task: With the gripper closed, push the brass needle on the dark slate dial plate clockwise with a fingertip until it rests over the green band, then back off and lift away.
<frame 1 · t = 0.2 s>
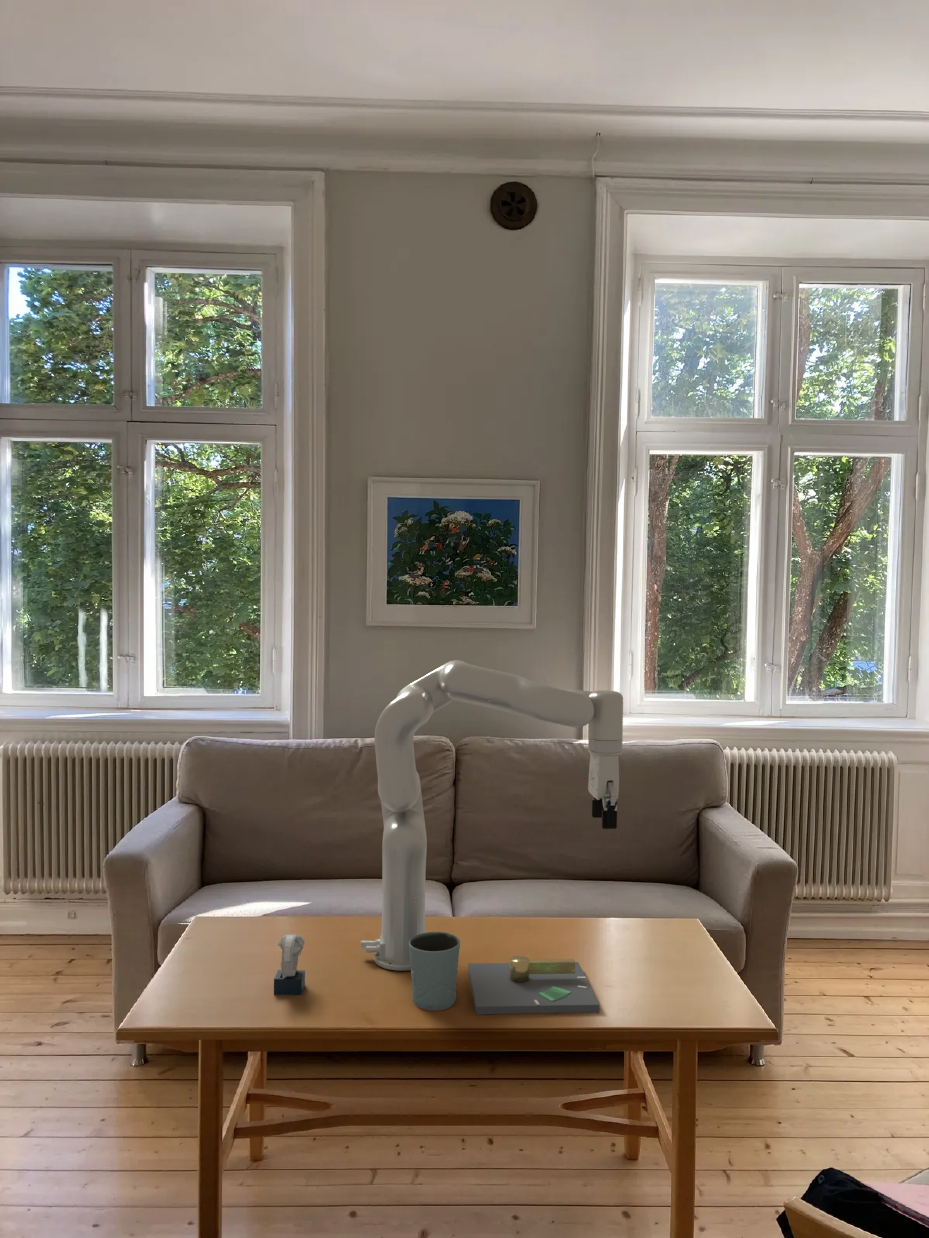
hand: (603, 822, 196), 30 cm above the table, tool pointing down, fingers open, 9 cm apart
needle: (542, 968, 182), point 4 cm above the table, hinge at 0.0°
teal cup: (433, 1001, 174), on the table
grey and black figurine: (289, 990, 178), on the table
dial plate: (519, 985, 182), on the table
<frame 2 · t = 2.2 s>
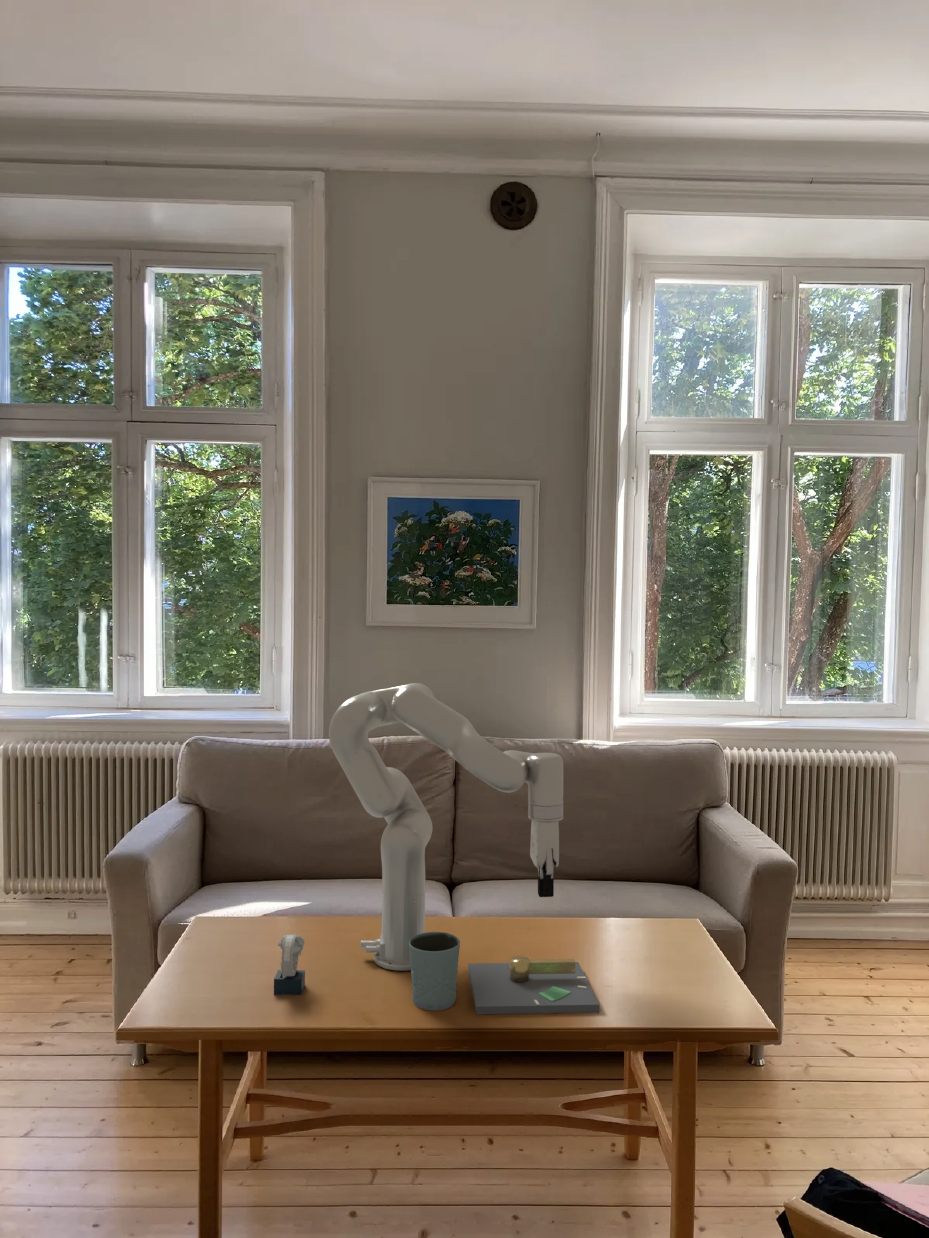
hand: (545, 895, 189), 16 cm above the table, tool pointing down, fingers closed
nothing on the table moved.
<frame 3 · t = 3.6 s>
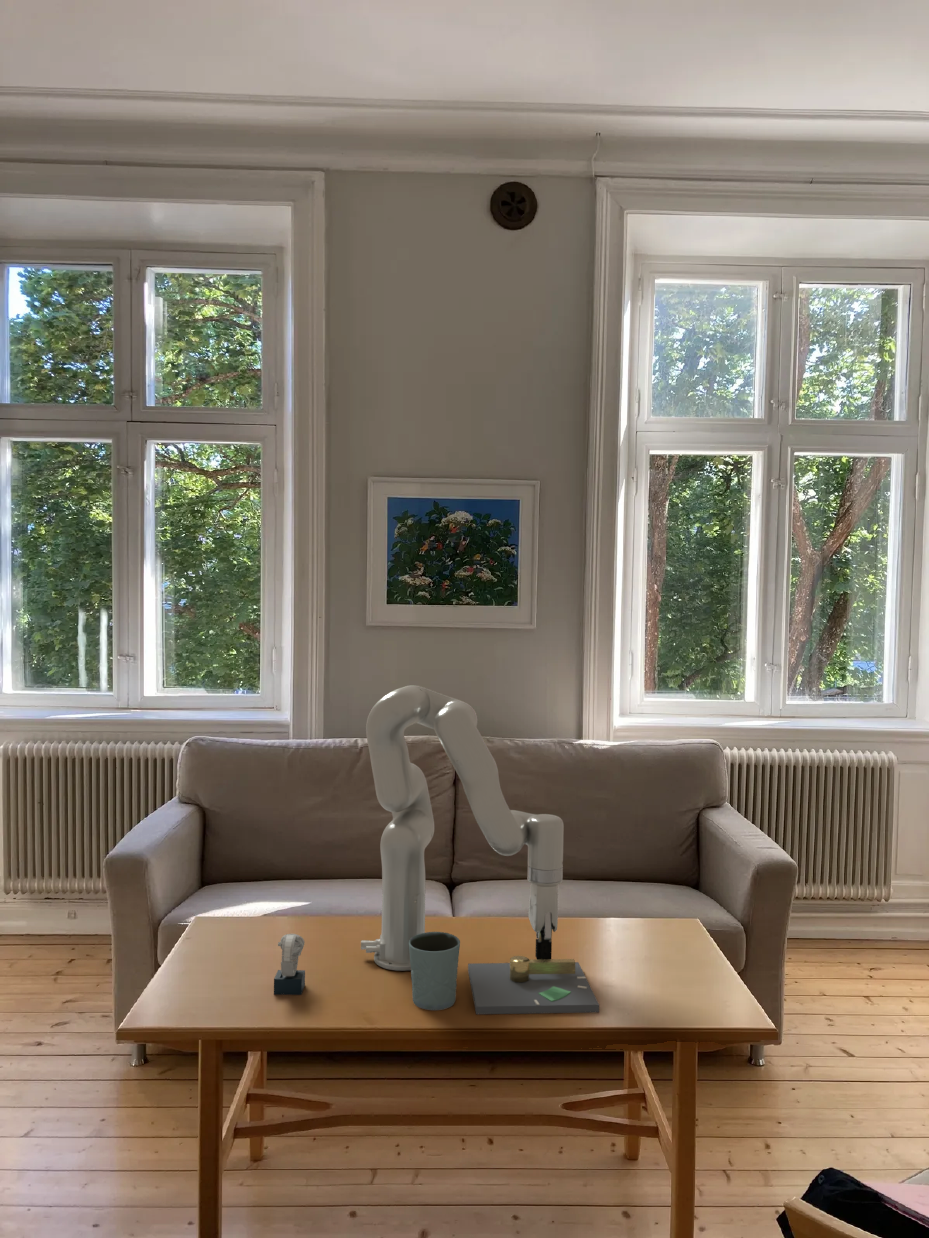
hand: (543, 958, 188), 3 cm above the table, tool pointing down, fingers closed
nothing on the table moved.
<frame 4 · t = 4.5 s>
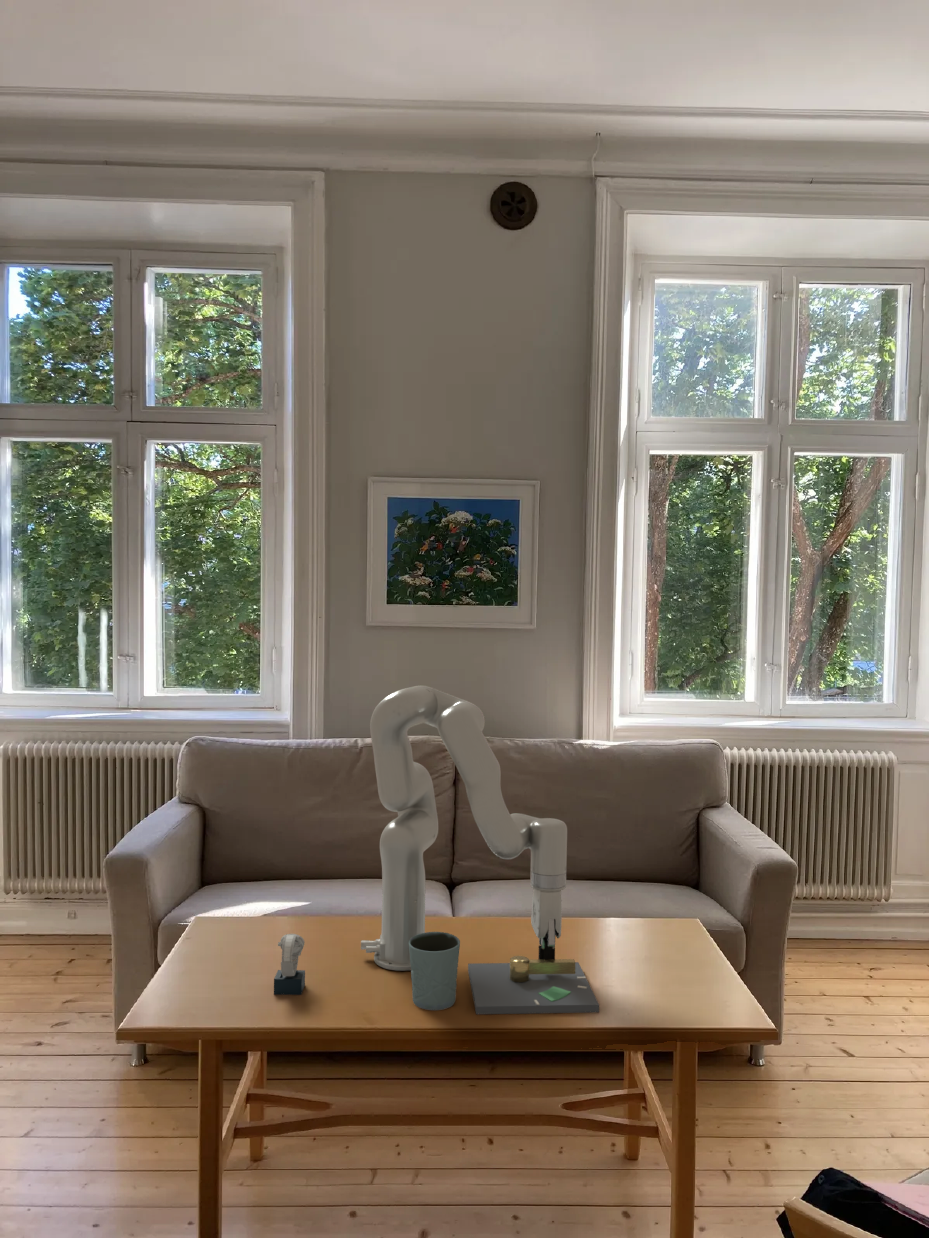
hand: (546, 965, 184), 3 cm above the table, tool pointing down, fingers closed
needle: (542, 968, 182), point 4 cm above the table, hinge at 0.5°, touching gripper
everything else where it was.
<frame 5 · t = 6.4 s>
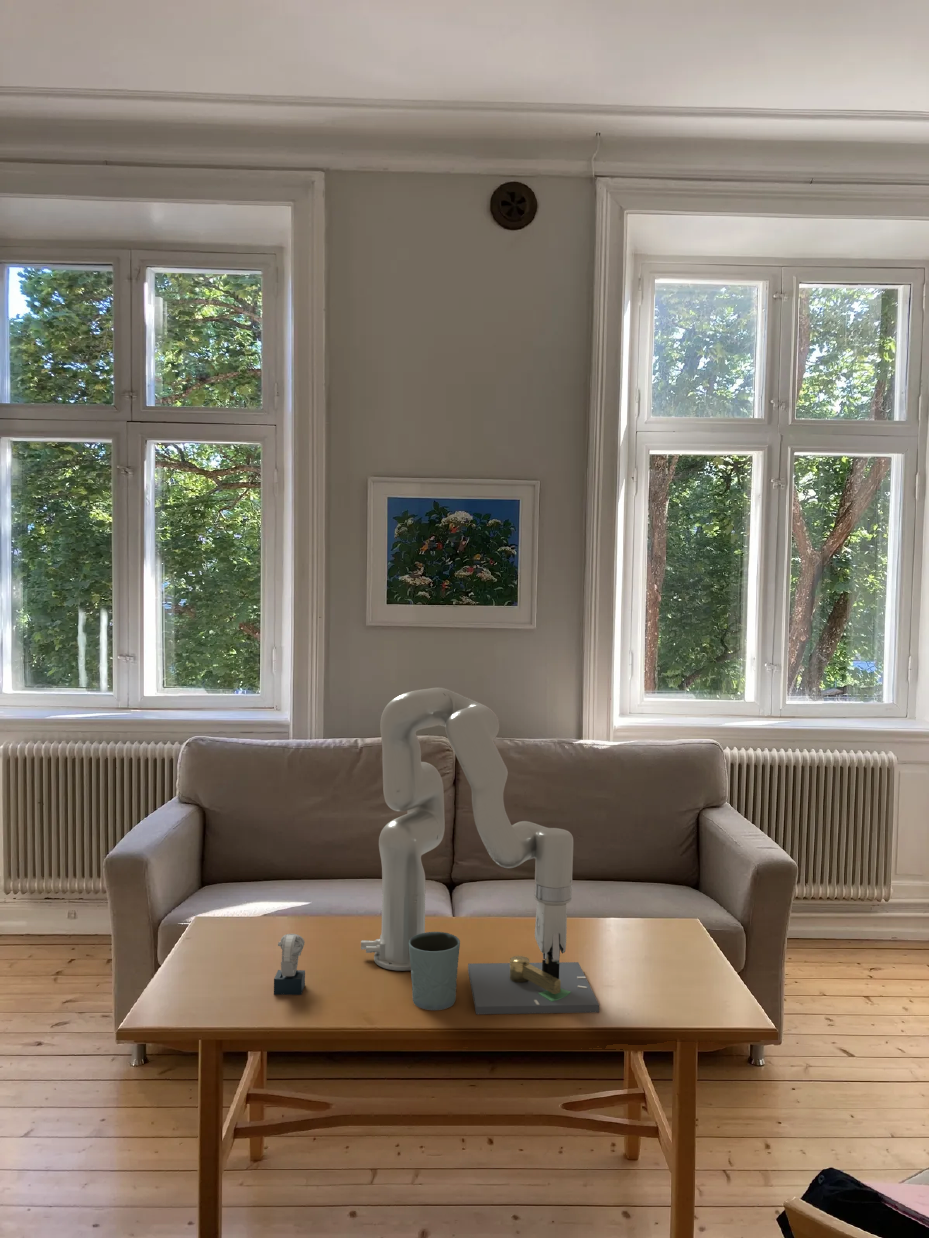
hand: (550, 980, 178), 3 cm above the table, tool pointing down, fingers closed
needle: (534, 976, 178), point 4 cm above the table, hinge at 57.5°, touching gripper
everything else where it was.
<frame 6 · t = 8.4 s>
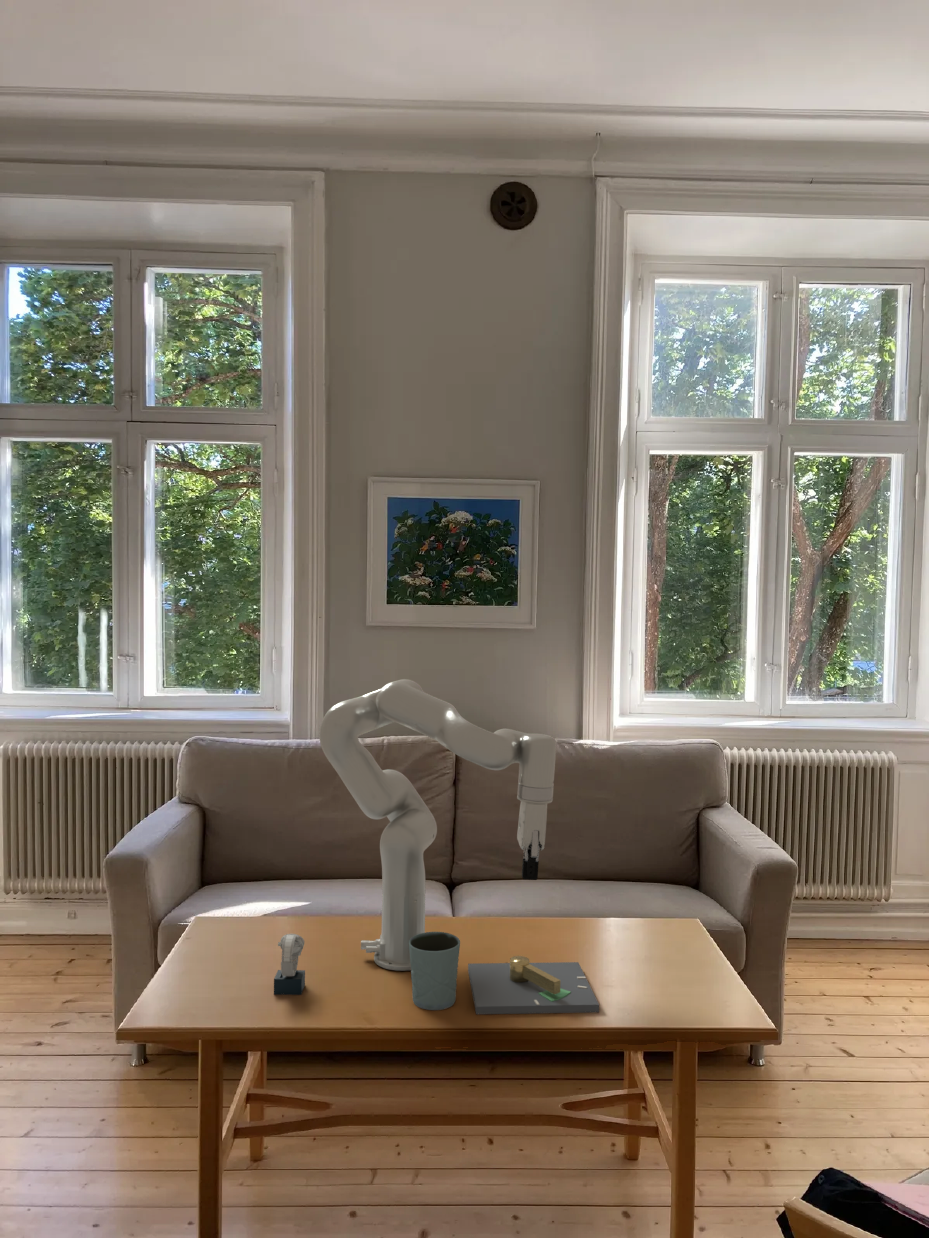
hand: (529, 878, 186), 21 cm above the table, tool pointing down, fingers closed
needle: (534, 976, 178), point 4 cm above the table, hinge at 57.7°
everything else where it was.
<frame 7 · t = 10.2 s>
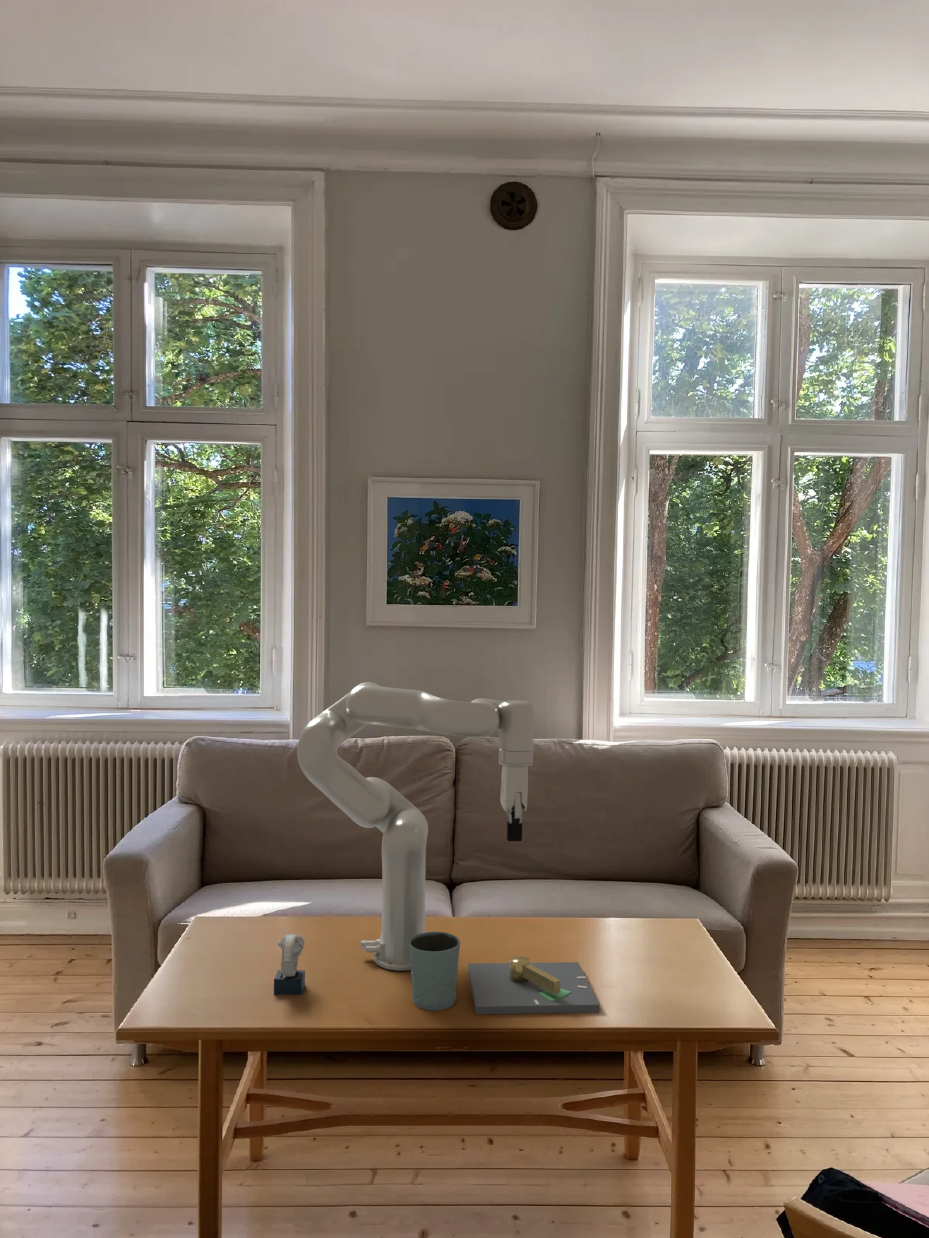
hand: (514, 839, 193), 27 cm above the table, tool pointing down, fingers closed
nothing on the table moved.
at the end: needle at +58° (first picture: +0°); teal cup moved 0.2 cm from its start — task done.
